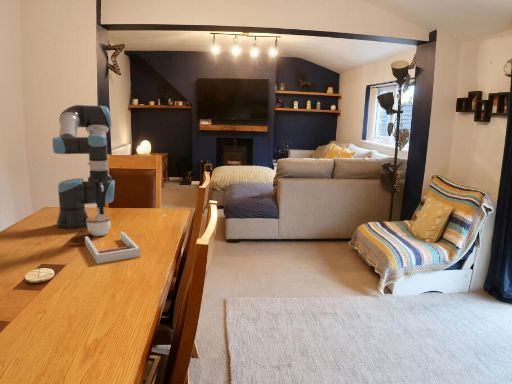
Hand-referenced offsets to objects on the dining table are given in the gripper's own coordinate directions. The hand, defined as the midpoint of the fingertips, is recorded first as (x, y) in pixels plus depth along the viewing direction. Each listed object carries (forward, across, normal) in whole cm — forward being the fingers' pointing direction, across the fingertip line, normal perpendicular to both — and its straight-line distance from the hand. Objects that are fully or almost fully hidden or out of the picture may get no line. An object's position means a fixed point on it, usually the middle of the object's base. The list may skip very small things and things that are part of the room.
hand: (101, 220), depth 179 cm
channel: (+8, +18, 0) cm, 20 cm away
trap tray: (+8, +26, 0) cm, 27 cm away
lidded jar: (+8, -5, 0) cm, 10 cm away
